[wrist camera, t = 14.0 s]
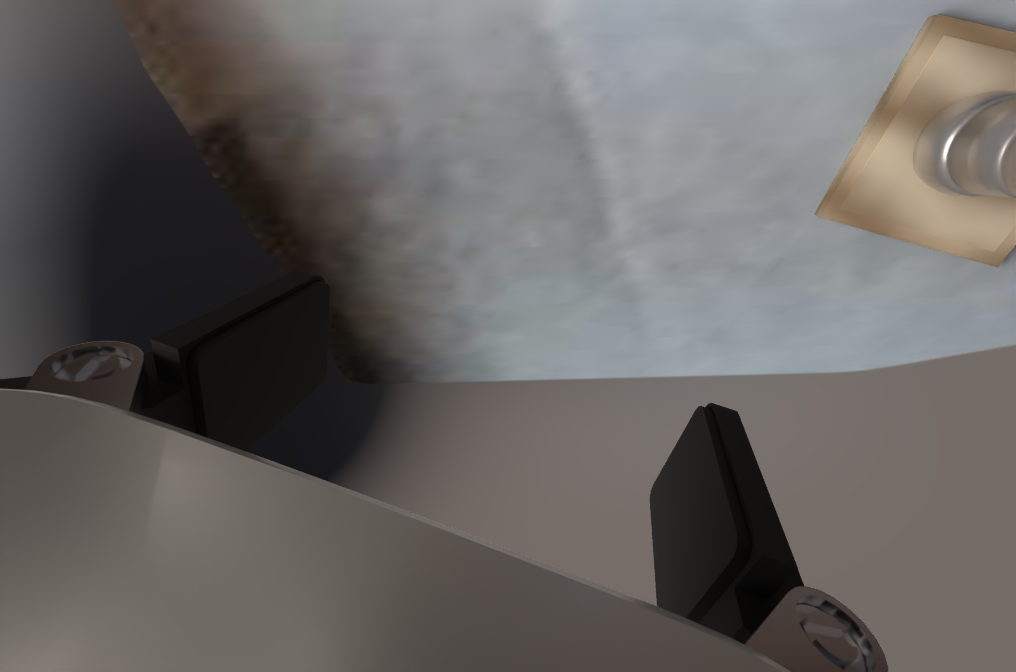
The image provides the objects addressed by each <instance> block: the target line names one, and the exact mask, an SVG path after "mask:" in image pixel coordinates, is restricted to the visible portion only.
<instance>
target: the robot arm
mask: <svg viewBox="0 0 1016 672" xmlns="http://www.w3.org/2000/svg"><path fill="white" fill-rule="evenodd" d="M329 295H330V290H329V286H328V285H327V284H325V281H324V278H323V277H322V276H319V275H316V274H313V273H310V272H307V271H304V270H300V269H298V270H295V271H293V272H291V273H289V274H287V275H284V276H282V277H280V278H278V279H276V280H274V281H272V282H270V283H268V284H266V285H263V286H261V287H259V288H257V289H255V290H253V291H251V292H249V293H247V294H244V295H242V296H240V297H238V298H236V299H234V300H232V301H230V302H228V303H225V304H223V305H221V306H219V307H217V308H215V309H213V310H211V311H209V312H207V313H204V314H202V315H200V316H198V317H196V318H194V319H192V320H190V321H188V322H185V323H183V324H181V325H180V326H177V327H175V328H173V329H171V330H169V331H167V332H164V333H163V334H160V335H158V336H156V337H154V338H152V339H150V340H151V345H152V350H153V351H151V352H150V353H147V354H145V355H143V352H142V351H141V350H140V349H139V348H138V347H136V346H133V345H131V344H127V343H123V342H117V341H116V342H115V341H98V342H89V343H84V344H79V345H75V346H70V347H68V348H65V349H62V350H59V351H57V352H55V353H53V354H52V355H50V356H48V357H46V358H45V359H44V360H43V361H42V362H41V363H40V364H39V365H38V367H37V369H36V371H35V372H34V374H33V376H30V377H21V378H11V379H10V378H9V379H0V672H888V665H887V661H886V658H885V654H884V652H883V650H882V649H881V647H880V645H879V643H878V641H877V639H876V638H875V637H874V635H873V634H872V633H871V632H870V630H869V629H868V628H867V626H866V625H865V624H864V622H862V620H860V619H859V618H858V617H857V616H856V615H855V614H854V613H853V612H852V611H851V610H850V609H849V608H847V607H846V606H845V605H843V604H842V603H841V602H840V601H838V600H837V599H835V598H834V597H832V596H830V595H828V594H826V593H825V592H823V591H821V590H818V589H814V588H811V587H806V586H804V584H803V582H802V579H801V576H800V574H799V571H798V567H797V565H796V562H795V560H794V557H793V554H792V552H791V549H790V547H789V544H788V541H787V539H786V536H785V533H784V531H783V529H782V526H781V523H780V520H779V518H778V515H777V513H776V510H775V508H774V505H773V502H772V500H771V497H770V494H769V492H768V489H767V487H766V484H765V481H764V479H763V476H762V474H761V471H760V469H759V466H758V463H757V461H756V458H755V456H754V453H753V450H752V448H751V445H750V443H749V440H748V437H747V435H746V432H745V429H744V427H743V424H742V422H741V419H740V416H739V414H738V412H737V411H734V410H732V409H729V408H726V407H722V406H719V405H716V404H713V403H710V404H708V405H707V406H706V407H702V406H699V407H698V408H697V409H696V410H695V412H694V414H693V416H692V418H691V419H690V421H689V423H688V424H687V426H686V428H685V430H684V432H683V433H682V435H681V437H680V439H679V440H678V442H677V444H676V446H675V448H674V449H673V451H672V453H671V454H670V456H669V458H668V460H667V462H666V463H665V465H664V467H663V469H662V470H661V472H660V474H659V476H658V477H657V479H656V481H655V483H654V485H653V487H652V490H651V494H650V509H651V524H652V539H653V553H654V567H655V582H656V597H657V606H654V605H652V604H649V603H647V602H645V601H642V600H639V599H637V598H634V597H632V596H629V595H627V594H624V593H622V592H619V591H617V590H614V589H611V588H609V587H606V586H604V585H601V584H599V583H596V582H593V581H591V580H588V579H586V578H583V577H580V576H578V575H575V574H573V573H570V572H567V571H565V570H562V569H559V568H556V567H554V566H551V565H548V564H546V563H543V562H541V561H538V560H536V559H533V558H530V557H527V556H525V555H522V554H520V553H517V552H514V551H512V550H509V549H507V548H504V547H501V546H499V545H496V544H493V543H491V542H488V541H485V540H483V539H480V538H477V537H474V536H472V535H469V534H467V533H464V532H462V531H459V530H456V529H453V528H451V527H448V526H445V525H443V524H440V523H437V522H435V521H432V520H429V519H427V518H424V517H421V516H419V515H416V514H413V513H411V512H408V511H405V510H403V509H400V508H397V507H395V506H392V505H389V504H386V503H383V502H381V501H378V500H376V499H373V498H370V497H368V496H365V495H362V494H360V493H357V492H354V491H351V490H349V489H346V488H343V487H341V486H338V485H335V484H332V483H330V482H327V481H324V480H321V479H319V478H316V477H313V476H311V475H308V474H305V473H302V472H300V471H297V470H294V469H292V468H289V467H286V466H283V465H281V464H278V463H275V462H272V461H270V460H267V459H264V458H262V457H259V456H256V455H253V454H251V453H248V452H246V451H247V450H248V449H249V448H250V447H251V446H252V445H254V443H256V442H257V441H258V440H259V439H260V438H262V436H264V435H265V434H266V433H267V432H268V431H269V430H270V429H272V428H273V427H274V426H275V425H276V424H277V423H278V422H279V421H281V420H282V419H283V418H284V417H285V416H286V415H287V414H288V413H290V412H291V411H292V410H293V409H294V408H295V407H296V406H297V405H299V404H300V403H301V402H302V401H303V400H304V399H305V398H306V397H307V396H308V395H310V394H311V393H312V392H313V391H314V390H315V389H316V388H318V387H319V386H320V385H321V384H322V382H323V381H324V379H325V377H326V373H327V355H328V354H327V353H328V325H329Z"/></svg>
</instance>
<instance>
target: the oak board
mask: <svg viewBox="0 0 1016 672" xmlns="http://www.w3.org/2000/svg"><path fill="white" fill-rule="evenodd" d="M1001 90H1002V91H1011V92H1016V32H1012V31H1008V30H1004V29H999V28H995V27H991V26H987V25H982V24H978V23H974V22H969V21H965V20H961V19H957V18H952V17H948V16H944V15H940V14H939V15H935V16H932V17H929V18H928V19H927V21H926V23H925V24H924V26H923V28H922V29H921V31H920V33H919V35H918V36H917V38H916V40H915V42H914V43H913V45H912V47H911V48H910V50H909V52H908V54H907V55H906V57H905V59H904V60H903V62H902V64H901V66H900V67H899V69H898V71H897V73H896V74H895V76H894V78H893V79H892V81H891V83H890V85H889V86H888V88H887V90H886V92H885V93H884V95H883V97H882V98H881V100H880V102H879V104H878V105H877V107H876V109H875V111H874V112H873V114H872V116H871V117H870V119H869V121H868V123H867V124H866V126H865V128H864V129H863V131H862V133H861V135H860V136H859V138H858V140H857V142H856V143H855V145H854V147H853V148H852V150H851V152H850V154H849V155H848V157H847V159H846V161H845V162H844V164H843V166H842V167H841V169H840V171H839V173H838V174H837V176H836V178H835V179H834V181H833V183H832V185H831V186H830V188H829V190H828V192H827V193H826V195H825V197H824V198H823V200H822V202H821V204H820V205H819V207H818V209H817V211H816V212H815V215H817V216H819V217H821V218H825V219H829V220H832V221H836V222H839V223H843V224H846V225H850V226H853V227H857V228H860V229H864V230H867V231H871V232H875V233H878V234H882V235H885V236H889V237H892V238H896V239H899V240H903V241H906V242H910V243H914V244H917V245H921V246H924V247H928V248H931V249H935V250H938V251H942V252H945V253H949V254H952V255H956V256H960V257H963V258H967V259H970V260H974V261H977V262H981V263H984V264H988V265H991V266H995V267H998V266H999V264H1000V263H1001V262H1002V261H1003V260H1004V258H1005V257H1006V256H1007V255H1008V254H1009V252H1010V251H1011V250H1012V249H1013V248H1014V246H1015V245H1016V198H1009V197H998V196H976V197H964V196H952V195H946V194H943V193H941V192H938V191H936V190H935V189H933V188H931V187H930V186H928V185H927V184H925V183H924V182H923V181H922V180H921V179H920V178H919V177H918V176H917V174H916V172H915V169H914V165H913V151H914V147H915V144H916V141H917V139H918V137H919V135H920V133H921V132H922V130H923V129H924V127H925V126H926V125H927V124H928V123H929V121H930V120H931V119H932V118H933V117H934V116H936V115H937V114H938V113H939V112H940V111H942V110H943V109H945V108H946V107H948V106H950V105H951V104H953V103H955V102H958V101H960V100H962V99H965V98H968V97H971V96H974V95H977V94H981V93H985V92H989V91H1001Z"/></svg>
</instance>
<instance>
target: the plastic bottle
mask: <svg viewBox="0 0 1016 672" xmlns="http://www.w3.org/2000/svg"><path fill="white" fill-rule="evenodd" d="M913 165H914V169H915V172H916V174H917V176H918V177H919V178H920V179H921V180H922V181H923V182H924V183H925V184H927V185H928V186H930V187H931V188H933V189H935V190H936V191H938V192H941V193H943V194H946V195H952V196H964V197H976V196H998V197H1009V198H1016V92H1011V91H1002V90H1001V91H989V92H985V93H981V94H977V95H974V96H971V97H968V98H965V99H962V100H960V101H958V102H955V103H953V104H951V105H950V106H948V107H946V108H945V109H943V110H942V111H940V112H939V113H938V114H937V115H936V116H934V117H933V118H932V119H931V120H930V121H929V123H928V124H927V125H926V126H925V127H924V129H923V130H922V132H921V133H920V135H919V137H918V139H917V141H916V144H915V147H914V151H913Z"/></svg>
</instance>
